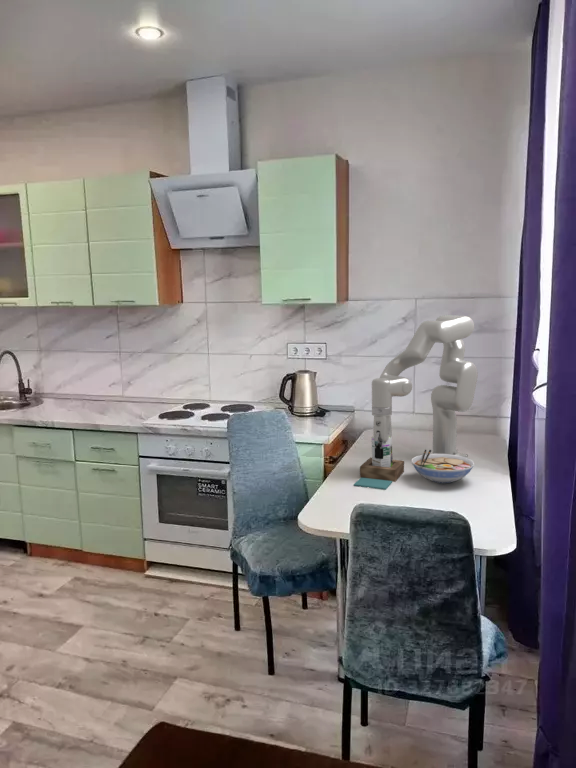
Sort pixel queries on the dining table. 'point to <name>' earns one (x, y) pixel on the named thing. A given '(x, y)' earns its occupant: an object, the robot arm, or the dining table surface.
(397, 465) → the walnut collar
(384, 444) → the syrup box
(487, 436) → the dining table surface
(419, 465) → the ramen bowl
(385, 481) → the teal mat
